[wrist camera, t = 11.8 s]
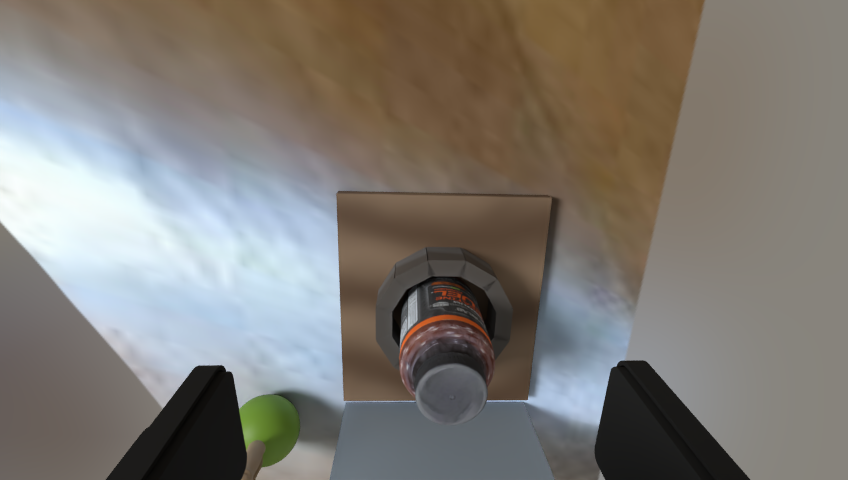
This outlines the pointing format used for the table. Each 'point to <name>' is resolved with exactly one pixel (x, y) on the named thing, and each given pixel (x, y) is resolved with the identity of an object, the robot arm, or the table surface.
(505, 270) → the socket
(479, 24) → the table surface
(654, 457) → the robot arm
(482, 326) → the supplement bottle
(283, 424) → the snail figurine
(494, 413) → the grey l-shaped stand
